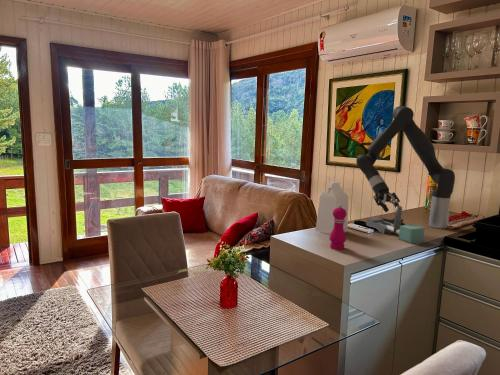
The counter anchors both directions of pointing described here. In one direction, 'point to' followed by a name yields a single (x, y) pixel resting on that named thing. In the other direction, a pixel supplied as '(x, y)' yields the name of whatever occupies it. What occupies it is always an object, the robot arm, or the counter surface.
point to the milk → (331, 208)
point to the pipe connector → (393, 221)
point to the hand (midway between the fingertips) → (393, 210)
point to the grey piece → (396, 221)
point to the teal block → (411, 233)
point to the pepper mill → (338, 229)
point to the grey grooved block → (379, 224)
